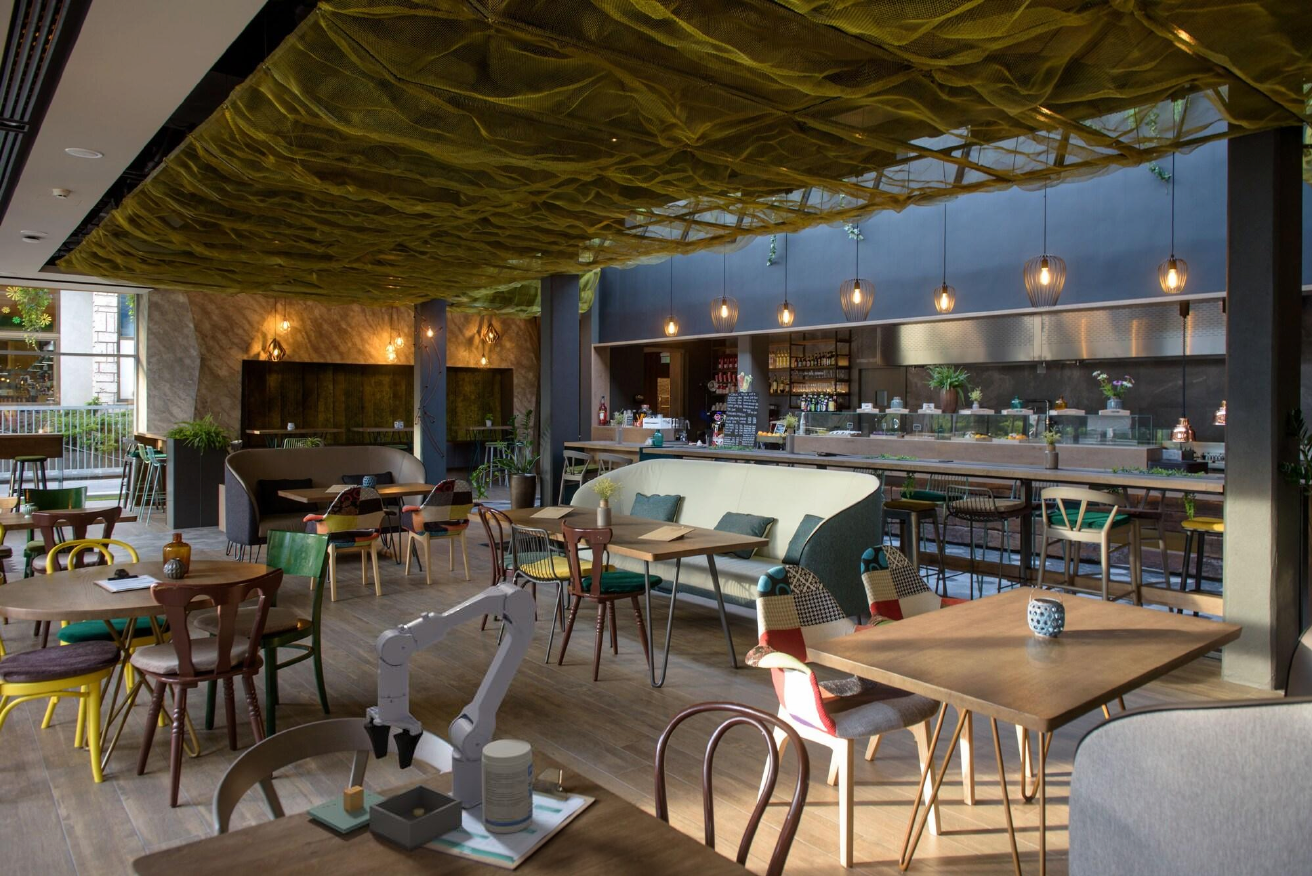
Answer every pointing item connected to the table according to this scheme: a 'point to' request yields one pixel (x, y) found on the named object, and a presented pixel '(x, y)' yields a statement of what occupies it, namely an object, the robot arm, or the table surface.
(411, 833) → the parts tub
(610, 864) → the table surface
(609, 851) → the table surface
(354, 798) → the lid
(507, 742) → the supplement tub
